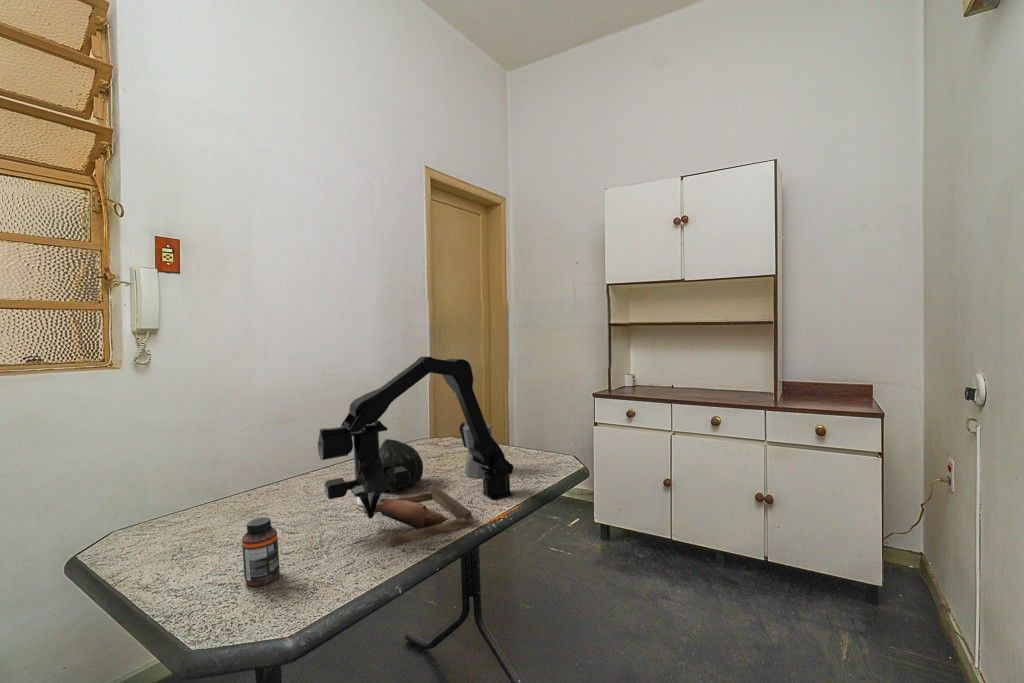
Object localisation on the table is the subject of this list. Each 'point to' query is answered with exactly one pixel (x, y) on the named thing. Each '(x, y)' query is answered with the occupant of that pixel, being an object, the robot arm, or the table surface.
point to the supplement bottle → (260, 552)
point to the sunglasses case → (412, 513)
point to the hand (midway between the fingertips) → (370, 517)
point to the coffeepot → (471, 467)
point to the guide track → (450, 505)
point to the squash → (401, 461)
